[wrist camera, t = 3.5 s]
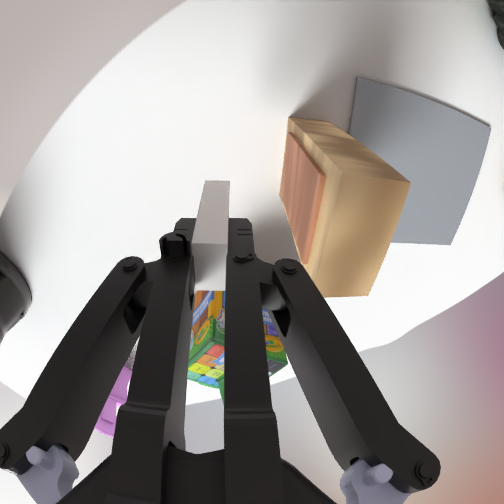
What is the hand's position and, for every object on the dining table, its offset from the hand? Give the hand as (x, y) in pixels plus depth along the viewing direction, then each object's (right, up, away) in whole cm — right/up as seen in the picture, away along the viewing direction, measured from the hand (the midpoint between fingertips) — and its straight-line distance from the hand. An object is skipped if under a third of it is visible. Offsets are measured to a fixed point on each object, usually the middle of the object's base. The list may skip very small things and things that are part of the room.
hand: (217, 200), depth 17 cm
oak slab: (+7, +6, +8) cm, 12 cm away
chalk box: (-1, -8, +19) cm, 21 cm away
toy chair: (-26, -27, +31) cm, 49 cm away
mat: (+21, +5, +9) cm, 24 cm away
